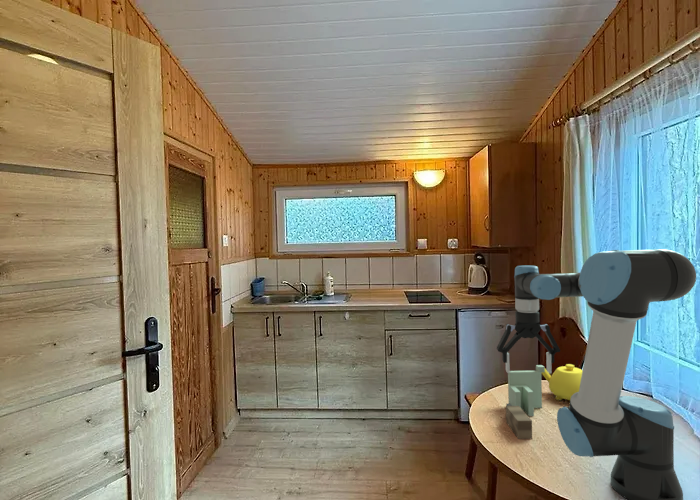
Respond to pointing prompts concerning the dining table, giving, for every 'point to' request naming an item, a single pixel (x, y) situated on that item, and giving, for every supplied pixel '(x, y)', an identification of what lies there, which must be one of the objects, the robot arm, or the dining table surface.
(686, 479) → the dining table surface
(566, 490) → the dining table surface
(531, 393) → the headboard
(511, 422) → the rail
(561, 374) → the teapot
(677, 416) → the dining table surface
